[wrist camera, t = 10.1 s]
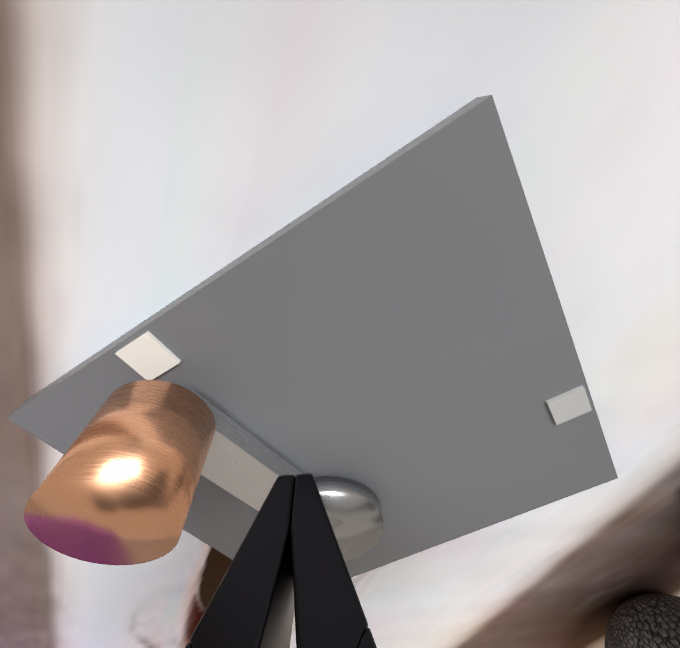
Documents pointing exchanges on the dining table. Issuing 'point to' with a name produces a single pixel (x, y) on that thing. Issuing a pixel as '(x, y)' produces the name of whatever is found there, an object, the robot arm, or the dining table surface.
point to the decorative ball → (645, 623)
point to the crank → (170, 479)
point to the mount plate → (380, 351)
